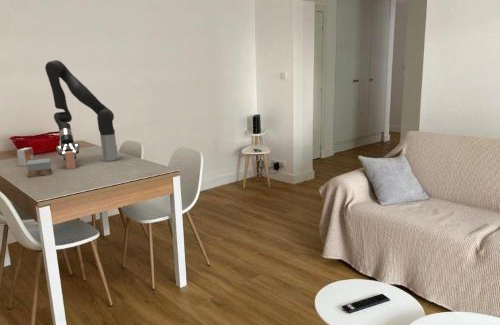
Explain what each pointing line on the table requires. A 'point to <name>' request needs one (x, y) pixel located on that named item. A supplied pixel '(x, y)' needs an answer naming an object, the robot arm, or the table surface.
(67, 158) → the terracotta block
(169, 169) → the table surface
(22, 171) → the table surface
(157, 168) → the table surface
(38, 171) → the walnut slab
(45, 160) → the slate-grey slab
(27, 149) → the small box
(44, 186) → the table surface
